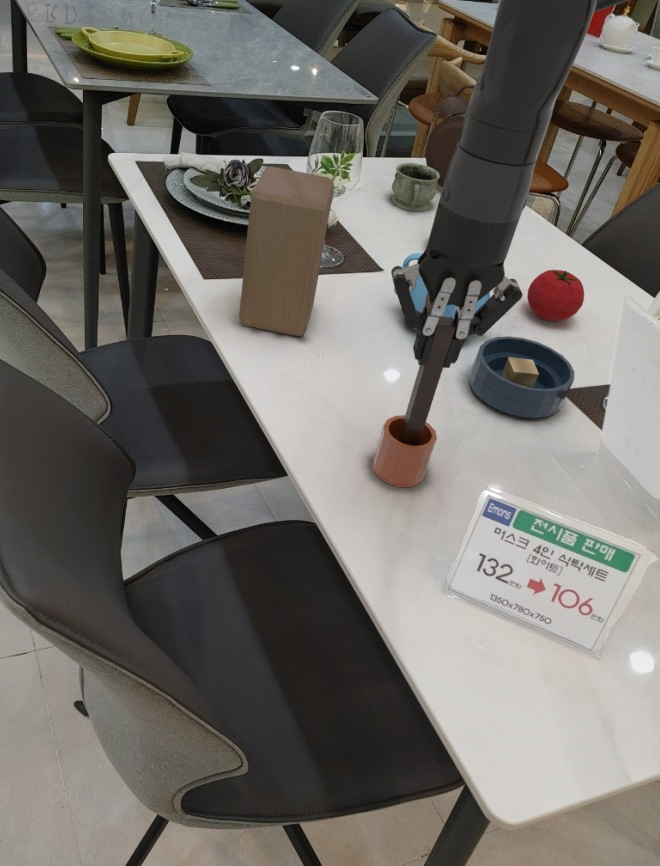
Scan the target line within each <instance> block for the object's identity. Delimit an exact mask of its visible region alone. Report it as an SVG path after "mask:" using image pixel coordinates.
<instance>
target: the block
mask: <svg viewBox="0 0 660 866" xmlns="http://www.w3.org/2000/svg"><path fill="white" fill-rule="evenodd" d="M538 375H539V373H538V371H537V368H536V366H535V364H534V361H533V360H530V359H521V358H512V357H508V359H507V362H506V364H505V367H504V369H503V372H502V374H501V377H503V378H505V379H507V380H509V381H511V382H514V383H516V384H519V385H523V386H526V387H530V388H533V387H534V385H535V382H536V380H537V378H538Z"/></svg>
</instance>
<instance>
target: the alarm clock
mask: <svg viewBox="0 0 660 866" xmlns="http://www.w3.org/2000/svg"><path fill="white" fill-rule="evenodd" d="M474 87H475V84H465V85H463V86H461V87H460V88H459V89H458V90H457V91H456V93H455V94H454V92H453V91H452V90H450V91H448V94H447V96H448V97H445V99H443V101H442V102H440V104H439V106H438V110H437V111H438V112H437V117H438V119H439V120H440V119H442V120H441V121H440V122H438V124H436V125H435V127H434V128H433V129H432V130H431V132H430V134H429V136H428V139H427V142H426V146H425V163H426V166H428V167H430V168H432V169H434V170H436V171H437V172H438V173H439V175H440V178H439V179H438V184H437V186H438V187H440V188H441V189H442V188H443V185H444V181H445V177H446V173H447V170H448V167H449V164H450V162H451V159H452V157H453V154H454V152H455V149H456V147H457V143H458V140H459V136H460V133H461V129H462V125H463V121H464V118H465V114H466V111H467V107H468V103H467V101H466V99H465V98H464V97H463V96H460V94H462V93H463V91H465V89H474ZM443 118H444V119H443Z"/></svg>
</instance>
